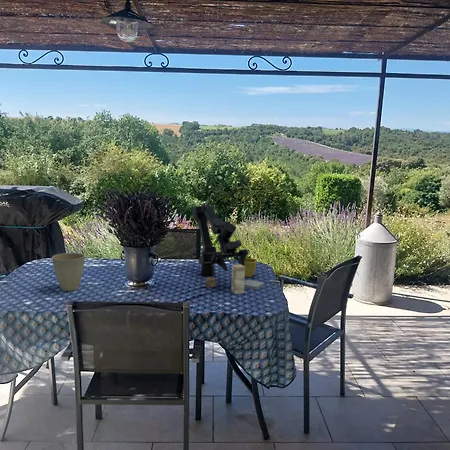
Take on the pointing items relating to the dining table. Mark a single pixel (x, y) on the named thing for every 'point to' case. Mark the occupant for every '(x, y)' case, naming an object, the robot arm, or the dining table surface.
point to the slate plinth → (253, 284)
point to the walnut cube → (210, 282)
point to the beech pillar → (238, 279)
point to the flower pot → (249, 266)
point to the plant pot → (69, 269)
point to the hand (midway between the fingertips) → (235, 270)
